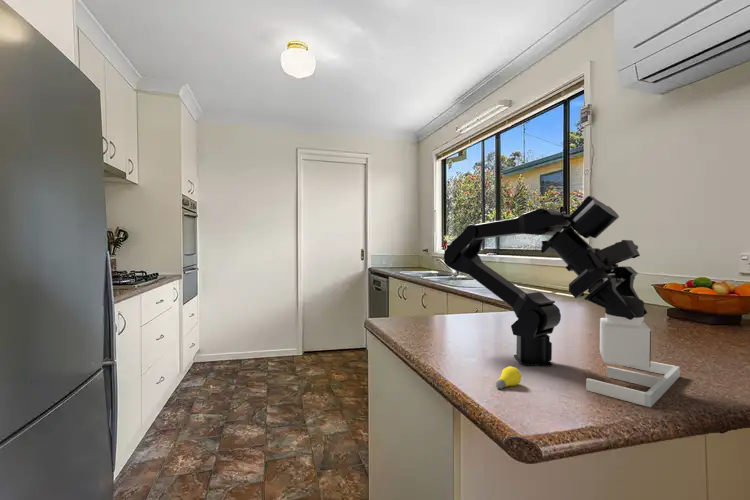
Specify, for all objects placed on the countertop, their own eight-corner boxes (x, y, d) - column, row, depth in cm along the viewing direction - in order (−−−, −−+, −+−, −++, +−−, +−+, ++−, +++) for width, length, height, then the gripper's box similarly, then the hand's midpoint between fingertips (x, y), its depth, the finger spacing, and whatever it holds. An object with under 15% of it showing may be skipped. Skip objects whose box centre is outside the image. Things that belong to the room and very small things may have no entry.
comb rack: (650, 407, 60) (650, 395, 60) (586, 390, 67) (586, 379, 67) (679, 376, 75) (679, 366, 75) (624, 365, 82) (624, 356, 82)
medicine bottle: (650, 369, 65) (652, 301, 65) (603, 363, 69) (604, 298, 68) (642, 357, 72) (643, 295, 71) (599, 352, 75) (600, 293, 74)
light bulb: (523, 384, 70) (526, 369, 69) (504, 399, 67) (506, 384, 66) (508, 374, 73) (510, 359, 71) (488, 388, 70) (490, 374, 68)
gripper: (588, 223, 66) (662, 292, 58) (626, 227, 78) (693, 285, 69) (543, 265, 72) (605, 332, 64) (586, 263, 84) (642, 320, 75)
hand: (639, 316), depth 68 cm, fingers closed on medicine bottle, 6 cm apart
